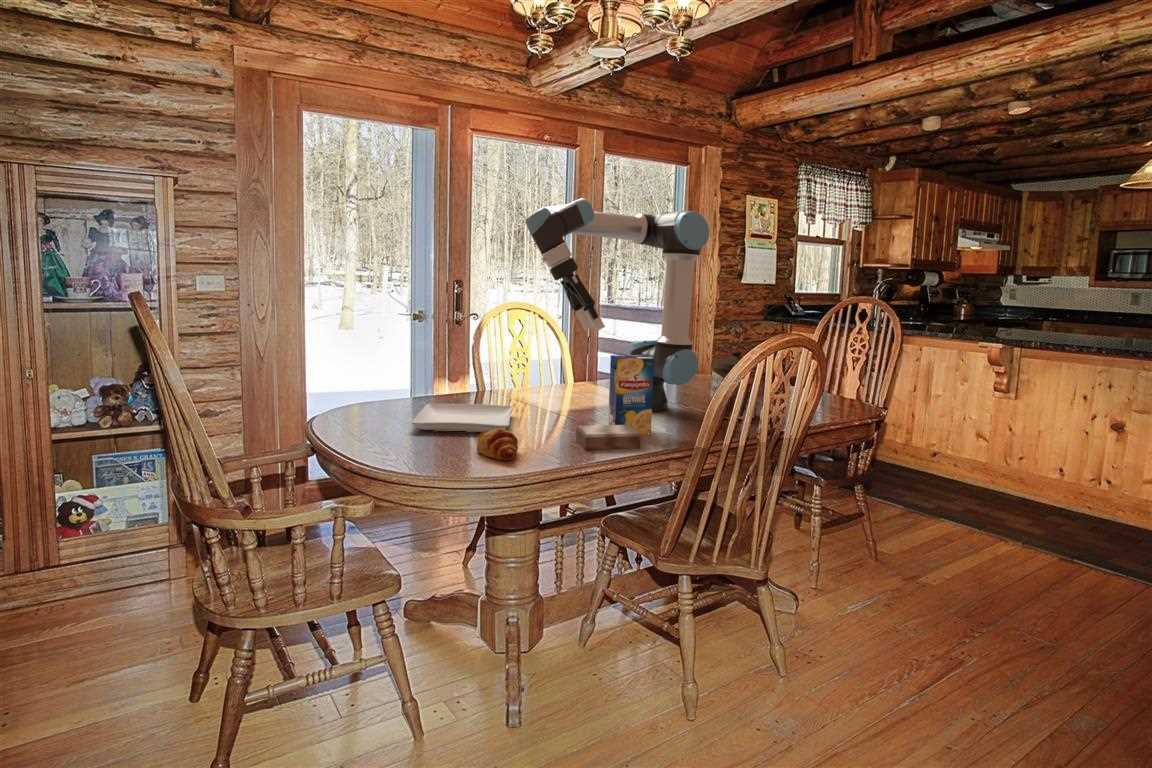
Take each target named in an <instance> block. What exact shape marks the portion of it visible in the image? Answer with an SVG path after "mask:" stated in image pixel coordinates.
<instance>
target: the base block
mask: <svg viewBox="0 0 1152 768" xmlns="http://www.w3.org/2000/svg"><path fill="white" fill-rule="evenodd" d="M575 430H576V431H575V440H576V442H578V444H579V445H580V446H581V447H582V448H583V449H584V450H585V451H593V450H596V449H602V450H627V449H629V450H632V449H635V450H637V449H641V441H642V438H641V437H642V436H641V435H639V433H638V432H636V431H635V430H634V429H632V428H631V427H630V426H629V425H608V424H605V425H604V424H603V425H602V424H600V425H599V424H598V425H597V424H596V425H578V428H576V429H575Z"/></svg>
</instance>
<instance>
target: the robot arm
mask: <svg viewBox="0 0 1152 768" xmlns="http://www.w3.org/2000/svg"><path fill="white" fill-rule="evenodd" d="M524 222H525V225H526V228H527V229H528V232H529V235H530V236H531V238H532V239H533V241H534V243H535V244H536V247H537V248H538V250H539V252H540V255H541V256H542V259H541V261H542V262H545V264H546V265H547V267H548V268H550V269H549V272H550V274H551V275H552V278H553V279H554V281H559V280H561V279H562V280H561V281H560V284H561V286H562V288H563V290H564V292H565V294H566V297H567V300H568V302H569V305H570V307H571V309H572V310H573V311H574V312H575V313H576V316H577V317H578V320H579V322H580V323H581V325H582V327H583V329H584V331H585V332H587V331H590V329H592V328H594V329H595V332H598V331H601V330H602V329H604V328H606V326H605V324H604V322H603V319H602V318H601V316H600V314H599V312H598V310H597V309H596V306H595V304H596V302H595V300H594V299H593V297H592V296H591V294H590V293H589V291H588V290H587V288H586V286H585V285H584V284H583V282H582V280H581V278H580V277H579V275H578V274H575V275H574V272H575V271H577V270H578V269H579V266H578V265H577V263H576V260H575V259H574V258H573V257H571V256H572V253H571V251H570V249H569V247H568V245H567V243H566V241H565V239H564V237H566V236H567V235H570V234H573V235H581V236H590V237H591V236H592V237H601V238H611V239H619V240H627V241H632V242H633V244H635V245H641V246H649V247H651V248H658V249H662V255H663V257H664V259H666V265H665V266H666V268H665V280H664V282H665V283H664V295H663V306H662V307H663V309H662V321H661V334H660V336H659V337H658V338H657V339H655V340H634V341H633V342H632V343H631V345H630V352H629V355H647V356H650V357H652V358H655V359H654V378H653V399H652V411H655V412H662V410H664V411H666V409H667V410H668V408H669V401H668V397H667V393H666V390H665V386H664V383H666V384H668V385H676V386H682V385H685V384H687V383H689V382H691V380H692V379H694V377H695V375H696V374H697V372H698V368H699V359H698V357H697V356H696V353H695V352H694V351H693V341H691V339H690V338H689V332H690V330H689V329H690V320H691V308H692V294H693V283H694V268H695V262H696V260H697V259H699V258H700V256H701V249H702V248H703V247H704V246H706V244H707V243H708V240H709V238H710V227H709V224H708V222H707V220H706V219H705V217H704V216H703V215H702V214H701V213H700V212H698V211H693V210H680V211H679V210H678V211H669V212H659V213H650V214H645V213H637V214H636V215H627V214H620V213H611V212H604V211H597V210H596V211H595V210H594V208H593V207H592V205H591V203H590V202H589V201H588V200H587V199H586V198H583V197H581V198H578V199H576V200H573V201H572V202H570V203H569V202H568V203H564V204H557V205H546V206H543V207H541V208H539V209H538V210H537V211H535V212H533V213H531V214H529V215H528V216H527V217H525V221H524Z"/></svg>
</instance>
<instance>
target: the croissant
mask: <svg viewBox="0 0 1152 768" xmlns="http://www.w3.org/2000/svg"><path fill="white" fill-rule="evenodd" d="M476 441H477V442H476V444H477V445H476V451H477V453H480V454H482V453H483V454H482V456H484V455H485V456H484V457H487V456H488V458H491V457H492V458H493V459H496V460H497V461H504V462H505V461H506V462H507V461H509V460H513V459H515V458H516V457H517V454H518V449H519V446H518V445H519V444H518V443H519V440H518V438H517V436H516V435H515V434H514V433H513V432H511V431H509V430H507V429H505V430H504V429H495V430H488V431H484V432H482V433H480V434H479V435H478V439H477V440H476Z"/></svg>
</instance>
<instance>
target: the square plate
mask: <svg viewBox="0 0 1152 768" xmlns="http://www.w3.org/2000/svg"><path fill="white" fill-rule="evenodd" d="M513 411H514V406H513V405H501V404H500V405H498V404H482V403H478V404H477V403H427V404H425V406H424V407H422V409H421V411H420V412H419V413H418V414H417V415H416V416H415V417H414V418H413V420H412V421H411V424H412V425H413V427H415V428H417V429H419V430H423V431H429V430H436V431H435V432H437V431H466V432H465V433H477V432H484V431H488V430H495V429H504V430H507V429H508V428H509V426H510V423H511V415H512V412H513Z"/></svg>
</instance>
